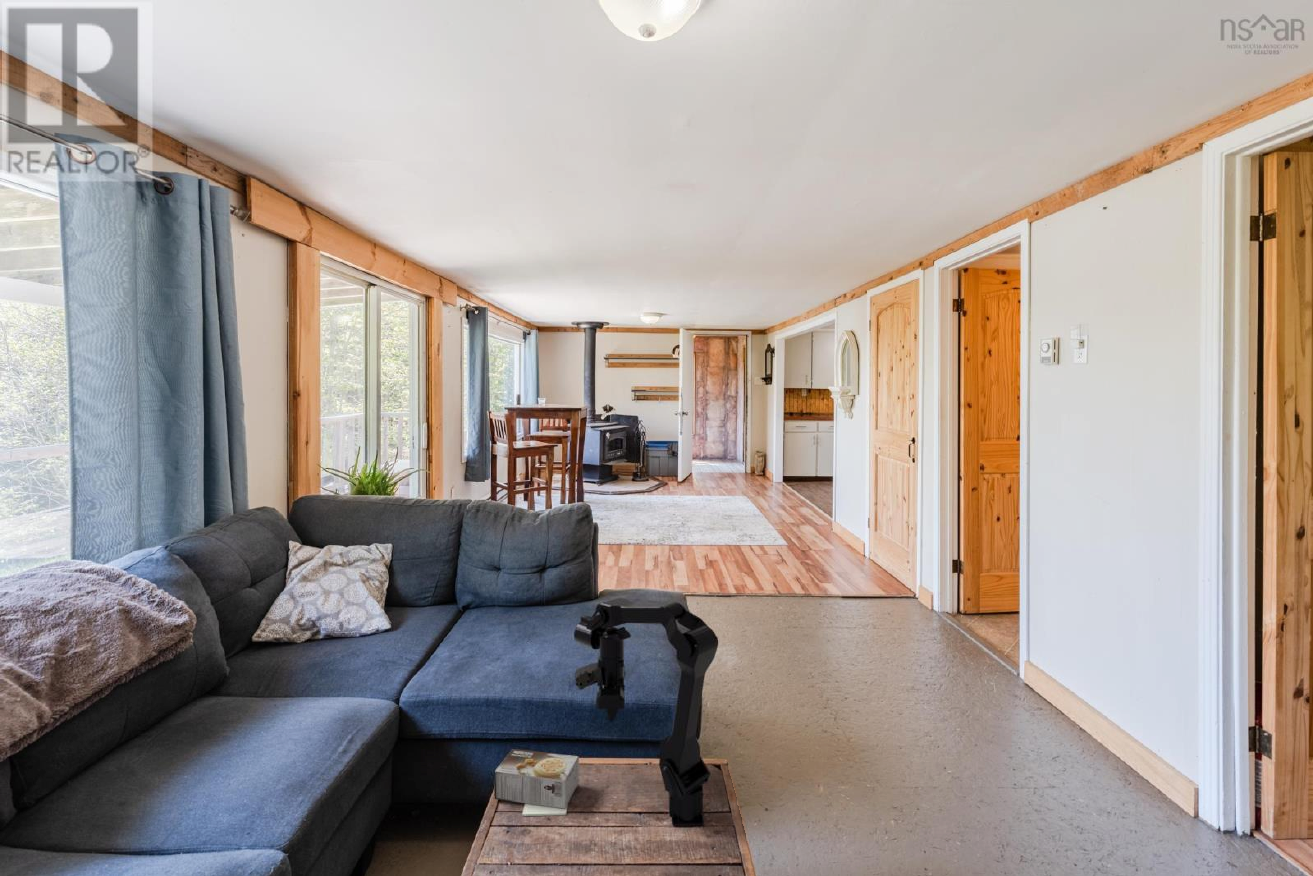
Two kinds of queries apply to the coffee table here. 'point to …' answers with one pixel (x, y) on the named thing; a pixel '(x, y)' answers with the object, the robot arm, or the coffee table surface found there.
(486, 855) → the coffee table surface
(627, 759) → the coffee table surface
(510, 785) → the coffee box
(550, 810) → the pad
